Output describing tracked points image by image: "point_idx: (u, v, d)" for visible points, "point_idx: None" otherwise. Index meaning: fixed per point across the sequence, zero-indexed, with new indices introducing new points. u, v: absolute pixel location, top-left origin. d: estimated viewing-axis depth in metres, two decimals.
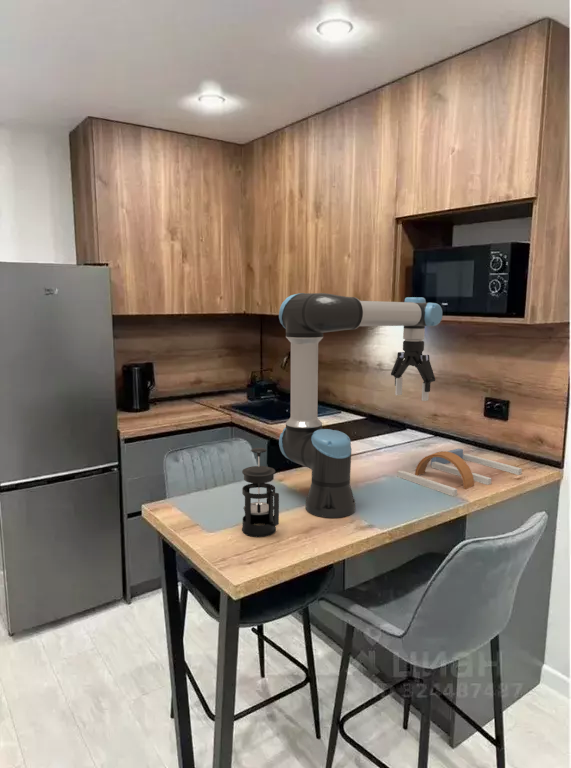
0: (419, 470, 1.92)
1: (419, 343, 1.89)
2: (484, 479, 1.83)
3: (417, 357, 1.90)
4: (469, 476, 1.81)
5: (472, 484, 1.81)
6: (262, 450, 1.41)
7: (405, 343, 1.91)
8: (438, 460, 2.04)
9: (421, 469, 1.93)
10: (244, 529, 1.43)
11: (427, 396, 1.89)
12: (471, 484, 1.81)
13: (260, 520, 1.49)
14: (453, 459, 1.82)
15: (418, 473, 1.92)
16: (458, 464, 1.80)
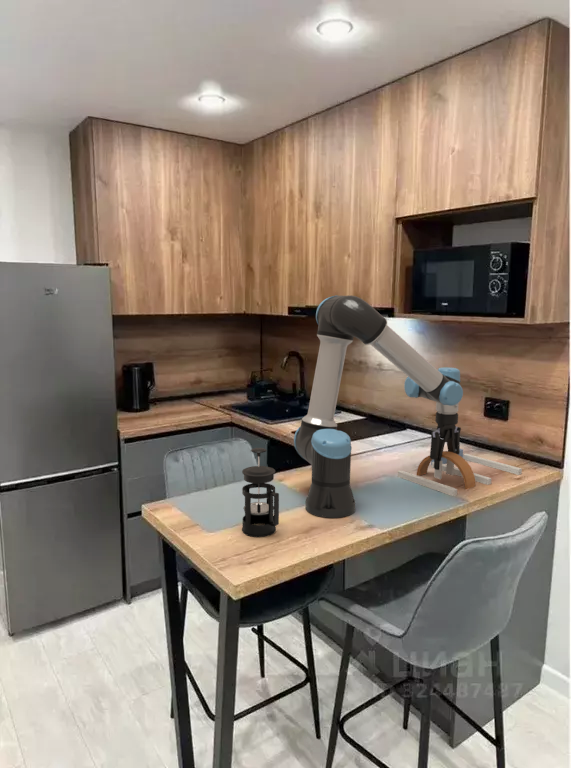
0: (421, 470, 1.92)
1: (438, 415, 1.82)
2: (484, 479, 1.83)
3: None
4: (470, 476, 1.80)
5: (473, 484, 1.81)
6: (262, 450, 1.41)
7: None
8: None
9: (423, 469, 1.93)
10: (244, 529, 1.43)
11: (438, 474, 1.84)
12: (472, 484, 1.80)
13: (260, 520, 1.49)
14: (454, 459, 1.81)
15: (420, 473, 1.92)
16: (459, 464, 1.80)
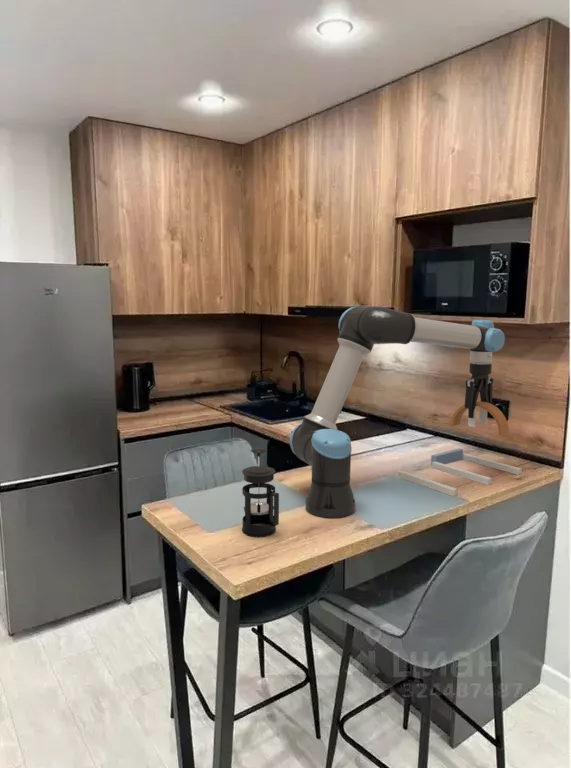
0: (454, 420, 2.00)
1: (472, 366, 1.90)
2: (484, 479, 1.83)
3: None
4: (504, 423, 1.88)
5: (507, 431, 1.88)
6: (262, 450, 1.41)
7: None
8: (438, 460, 2.04)
9: (456, 419, 2.01)
10: (244, 529, 1.43)
11: (472, 423, 1.92)
12: (505, 431, 1.88)
13: (260, 520, 1.49)
14: (488, 407, 1.89)
15: (453, 423, 2.00)
16: (493, 411, 1.88)
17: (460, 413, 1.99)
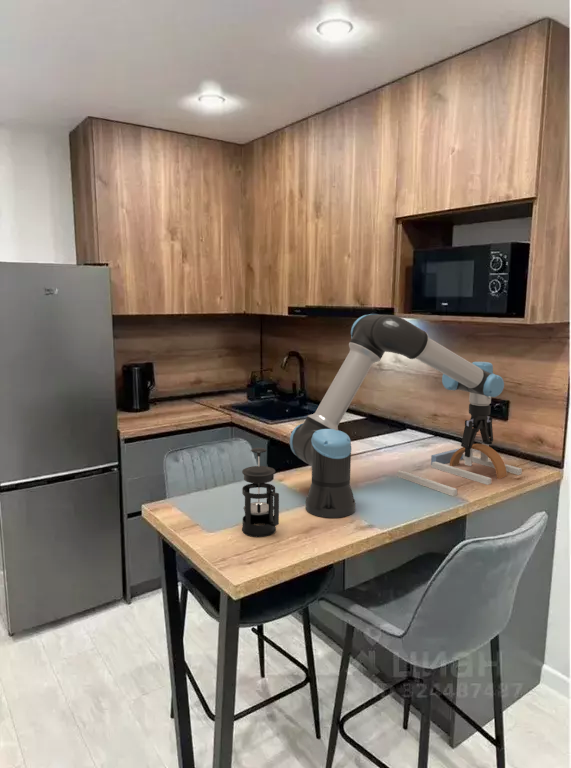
0: (453, 461, 2.03)
1: (472, 407, 1.93)
2: (484, 479, 1.83)
3: None
4: (502, 467, 1.91)
5: (505, 474, 1.92)
6: (262, 450, 1.41)
7: None
8: (438, 460, 2.04)
9: (456, 460, 2.04)
10: (244, 529, 1.43)
11: (468, 461, 1.94)
12: (503, 475, 1.91)
13: (260, 520, 1.49)
14: (486, 451, 1.92)
15: (452, 464, 2.03)
16: (491, 455, 1.91)
17: (459, 454, 2.03)
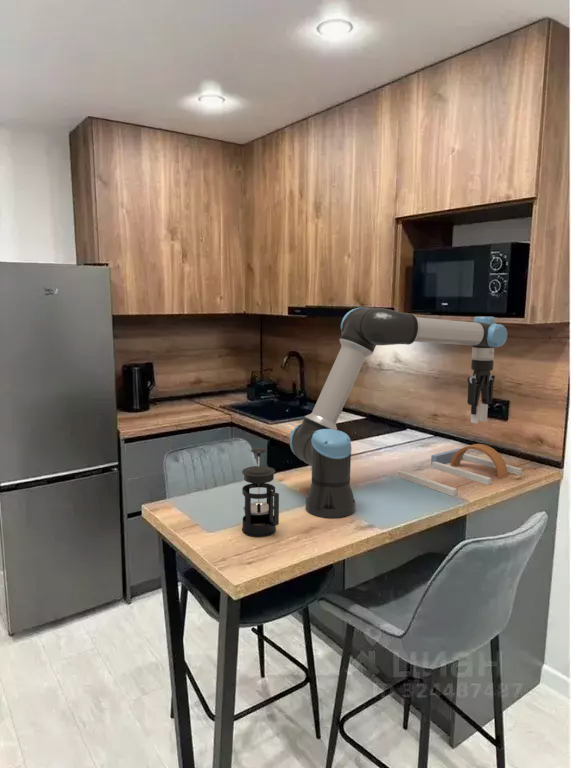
0: (454, 461, 2.03)
1: (474, 362, 1.91)
2: (484, 479, 1.83)
3: None
4: (503, 467, 1.91)
5: (506, 475, 1.91)
6: (262, 450, 1.41)
7: None
8: (438, 460, 2.04)
9: (456, 461, 2.04)
10: (244, 529, 1.43)
11: (475, 419, 1.93)
12: (504, 475, 1.91)
13: (260, 520, 1.49)
14: (487, 451, 1.92)
15: (453, 464, 2.03)
16: (492, 456, 1.91)
17: (460, 455, 2.02)
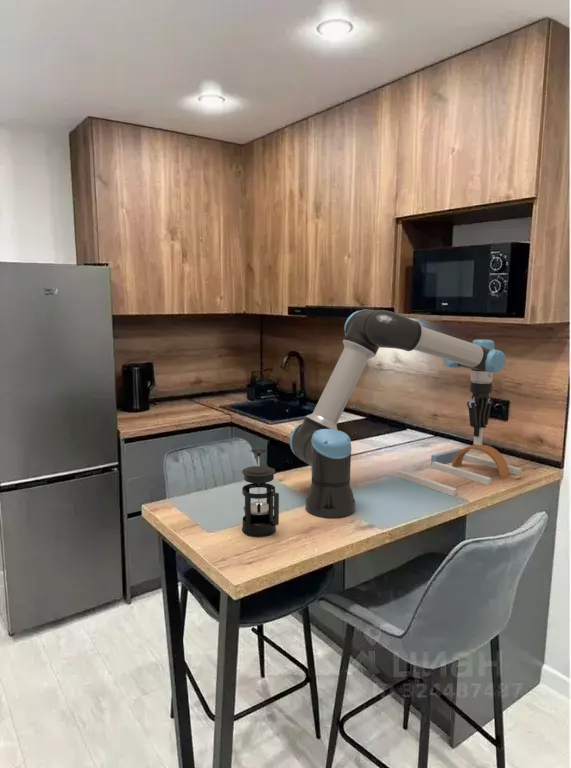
0: (456, 462, 2.02)
1: (473, 385, 1.92)
2: (484, 479, 1.83)
3: None
4: (505, 467, 1.90)
5: (508, 475, 1.91)
6: (262, 450, 1.41)
7: None
8: (438, 460, 2.04)
9: (458, 461, 2.03)
10: (244, 529, 1.43)
11: (478, 441, 1.96)
12: (506, 475, 1.90)
13: (260, 520, 1.49)
14: (489, 451, 1.92)
15: (455, 465, 2.02)
16: (494, 456, 1.90)
17: (461, 455, 2.02)
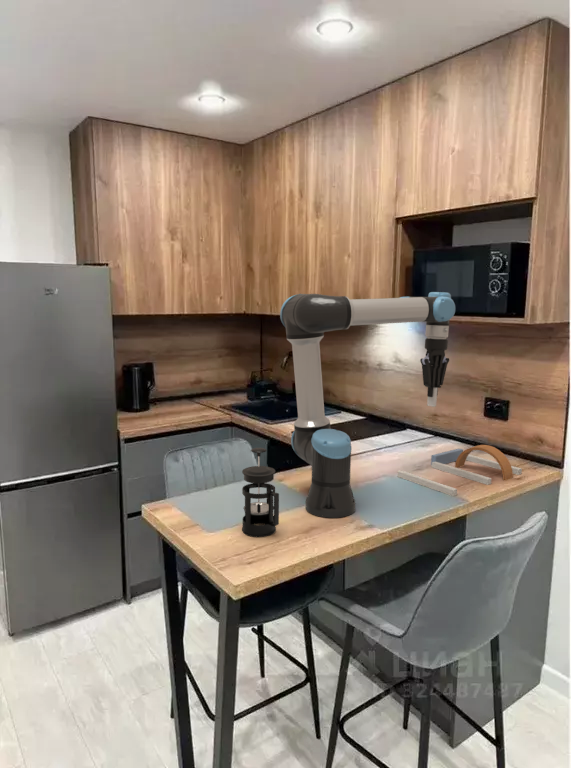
0: (459, 462, 2.01)
1: (428, 340, 1.79)
2: (484, 479, 1.83)
3: None
4: (508, 468, 1.89)
5: (511, 476, 1.90)
6: (262, 450, 1.41)
7: None
8: (438, 460, 2.04)
9: (461, 462, 2.02)
10: (244, 529, 1.43)
11: (431, 402, 1.83)
12: (510, 476, 1.89)
13: (260, 520, 1.49)
14: (493, 452, 1.91)
15: (458, 465, 2.02)
16: (498, 457, 1.89)
17: (465, 455, 2.01)
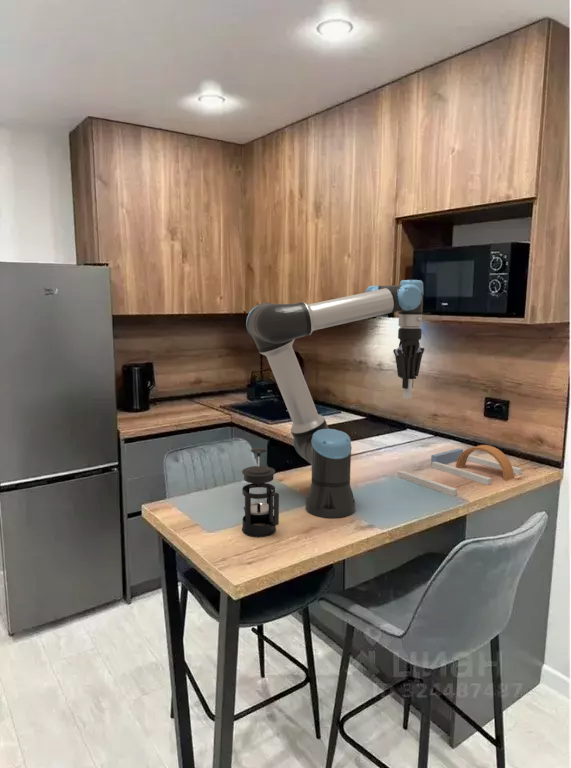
0: (460, 463, 2.01)
1: (400, 330, 1.73)
2: (484, 479, 1.83)
3: None
4: (509, 468, 1.89)
5: (512, 476, 1.90)
6: (262, 450, 1.41)
7: None
8: (438, 460, 2.04)
9: (462, 462, 2.02)
10: (244, 529, 1.43)
11: (407, 394, 1.77)
12: (510, 476, 1.89)
13: (260, 520, 1.49)
14: (493, 452, 1.91)
15: (459, 465, 2.01)
16: (498, 457, 1.89)
17: (465, 456, 2.01)
